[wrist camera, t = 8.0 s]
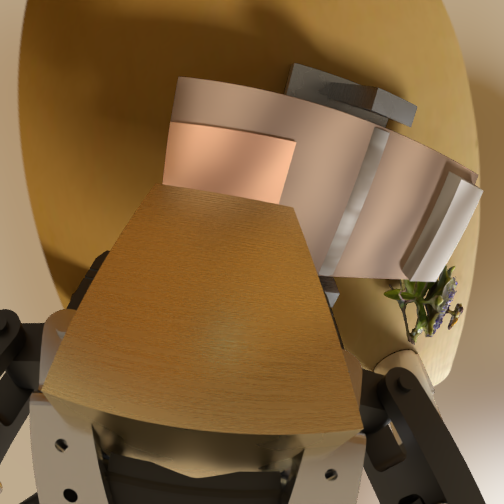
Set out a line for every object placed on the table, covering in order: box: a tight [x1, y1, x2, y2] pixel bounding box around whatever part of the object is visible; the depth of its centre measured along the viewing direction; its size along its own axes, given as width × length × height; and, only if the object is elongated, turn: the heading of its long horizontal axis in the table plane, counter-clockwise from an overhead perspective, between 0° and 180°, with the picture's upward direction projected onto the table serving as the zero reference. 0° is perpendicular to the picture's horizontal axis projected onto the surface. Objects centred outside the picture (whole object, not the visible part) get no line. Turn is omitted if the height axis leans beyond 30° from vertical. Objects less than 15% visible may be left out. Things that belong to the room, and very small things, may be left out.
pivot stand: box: [284, 63, 417, 307], centre depth 23 cm, size 10×18×11 cm, turn 167°
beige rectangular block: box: [41, 183, 364, 478], centre depth 8 cm, size 5×5×8 cm
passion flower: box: [384, 265, 463, 345], centre depth 33 cm, size 11×11×12 cm
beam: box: [163, 76, 483, 282], centre depth 19 cm, size 25×12×4 cm, turn 77°
